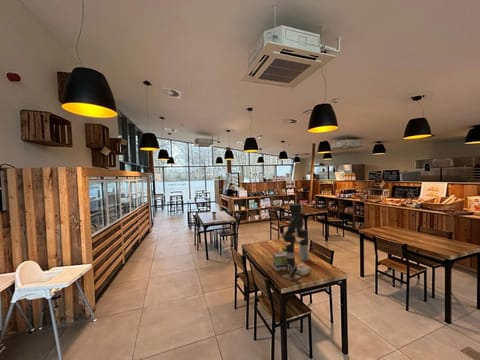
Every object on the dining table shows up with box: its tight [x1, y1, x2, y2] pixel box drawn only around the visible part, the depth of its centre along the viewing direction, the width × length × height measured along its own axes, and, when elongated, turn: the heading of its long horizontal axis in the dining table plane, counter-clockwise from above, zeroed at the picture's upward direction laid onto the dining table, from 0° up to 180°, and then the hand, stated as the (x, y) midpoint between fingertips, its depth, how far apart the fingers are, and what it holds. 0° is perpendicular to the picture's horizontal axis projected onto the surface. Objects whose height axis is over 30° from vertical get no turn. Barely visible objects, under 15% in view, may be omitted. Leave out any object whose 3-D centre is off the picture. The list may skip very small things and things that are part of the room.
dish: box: [294, 263, 311, 277], centre depth 194 cm, size 11×11×5 cm
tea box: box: [272, 251, 288, 272], centre depth 205 cm, size 15×10×15 cm, turn 101°
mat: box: [280, 275, 304, 284], centre depth 185 cm, size 15×15×1 cm
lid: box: [281, 269, 302, 283], centre depth 185 cm, size 12×12×7 cm
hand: (291, 275), depth 185 cm, fingers closed on lid, 3 cm apart
